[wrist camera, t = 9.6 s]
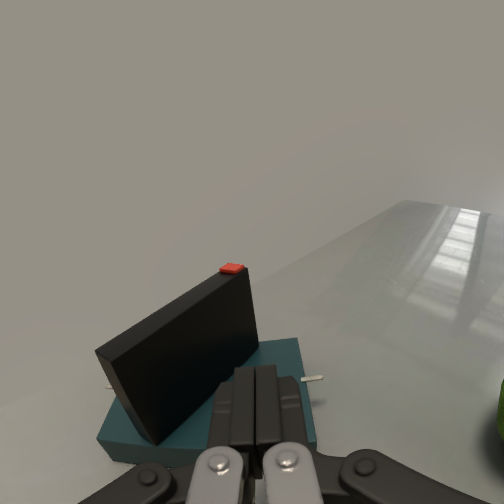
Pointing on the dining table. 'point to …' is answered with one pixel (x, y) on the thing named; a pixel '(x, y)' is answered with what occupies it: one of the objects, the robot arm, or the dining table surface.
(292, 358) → the teal base plate
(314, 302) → the dining table surface
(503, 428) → the avocado
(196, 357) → the red-tipped black panel
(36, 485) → the dining table surface
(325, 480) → the robot arm
